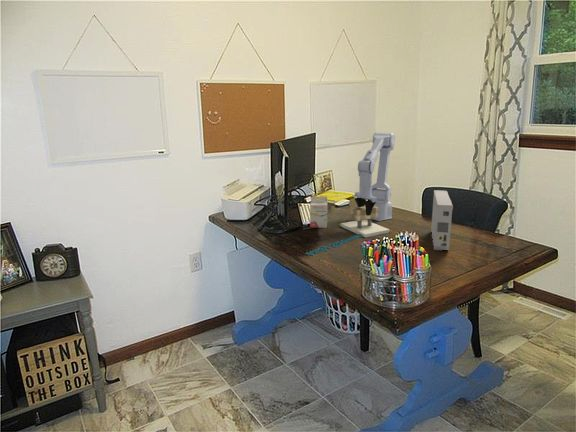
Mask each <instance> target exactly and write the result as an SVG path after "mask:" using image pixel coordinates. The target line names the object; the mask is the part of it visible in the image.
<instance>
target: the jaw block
mask: <svg viewBox="0 0 576 432" xmlns="http://www.w3.org/2000/svg"><path fill="white" fill-rule="evenodd" d="M350 213H351V214H350V218H351V220H352V221H361V220H367V221H368V219H372V218H377V217H378V207H376V206H374V207H373V209H372V212H371V215H369V216H367V215H366V207H365V205H364V206H363V207H358V206H357V207H353V208H351V211H350ZM372 220H373V219H372Z"/></svg>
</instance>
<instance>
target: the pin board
mask: <svg viewBox="0 0 576 432" xmlns="http://www.w3.org/2000/svg"><path fill="white" fill-rule="evenodd" d="M340 227H341V228H344V229H345V230H348V231H349V232H353V233H354V234H355V235H359V234H361V235H362V238H363V237H364V238H370V237H375V236H379V235H384V234H390V231H391V229H389V228H387V227H385V226H382V225H379V224H376V223H374V222H373V219H367V220H361V221H356V220H352V221H347V222H342V223H340Z"/></svg>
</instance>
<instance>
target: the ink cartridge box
mask: <svg viewBox="0 0 576 432" xmlns="http://www.w3.org/2000/svg"><path fill="white" fill-rule="evenodd" d="M309 211H310V212H309V227H310V228H320V229H321V228H325V229H326V228H328V196H311V197H310V204H309Z"/></svg>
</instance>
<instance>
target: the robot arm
mask: <svg viewBox="0 0 576 432" xmlns="http://www.w3.org/2000/svg"><path fill="white" fill-rule="evenodd" d="M395 137H396V136H395V134H394V133H393V132H374V133H373V135H372V141H371V142H372V146H371V148H370V149H369V150H367V152H366V153H365V155H364V157H363V158H362V159H361V160H360V161H359V162H358V163H357V164H358V165H357V171H358V177H359V189H358V191H357V192H355V191H354V197H356V198H354V201H355V203H356V205H357V208H358V207H363V206H365V207H366V215H367V216H369V215H371V212H372V209H373V207H374V206H376V207H378V217H377V218H372V220H375V221H377V222H380V221H385V220H386V221H387V220H391V219H393V217H392V215H393V205H392V203H391V198H392V188H391V186H390V185H389V184H388V183H387V179H388V171H389V170H388V169H389V164H390V163H389V161H390V155H391V151H393V150H394V147H395V142H396V141H395V139H396V138H395ZM378 159H379V161H378V168H377V175H376V177H377V178H376V183H374V184H373V174H374V171H375V167H376V163H377V160H378Z"/></svg>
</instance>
